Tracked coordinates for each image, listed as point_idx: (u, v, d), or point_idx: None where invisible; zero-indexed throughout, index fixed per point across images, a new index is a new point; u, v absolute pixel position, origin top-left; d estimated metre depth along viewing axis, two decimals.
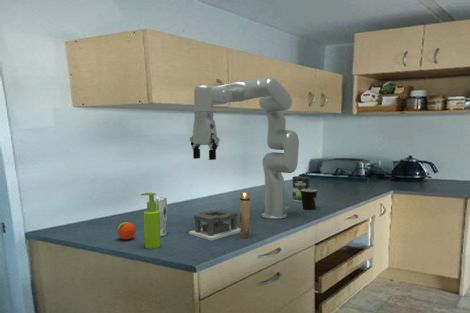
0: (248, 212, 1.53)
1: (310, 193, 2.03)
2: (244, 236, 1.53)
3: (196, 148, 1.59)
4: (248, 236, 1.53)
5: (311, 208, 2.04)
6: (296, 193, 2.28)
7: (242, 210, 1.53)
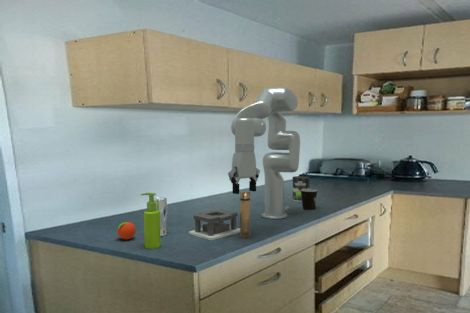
0: (248, 212, 1.53)
1: (310, 193, 2.03)
2: (244, 236, 1.53)
3: None
4: (248, 236, 1.53)
5: (311, 208, 2.04)
6: (296, 193, 2.28)
7: (242, 210, 1.53)
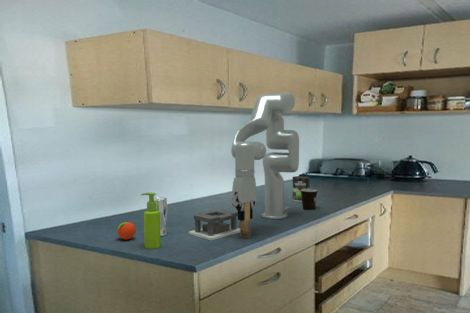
0: (248, 212, 1.53)
1: (310, 193, 2.03)
2: (244, 236, 1.53)
3: None
4: (248, 236, 1.53)
5: (311, 208, 2.04)
6: (296, 193, 2.28)
7: None
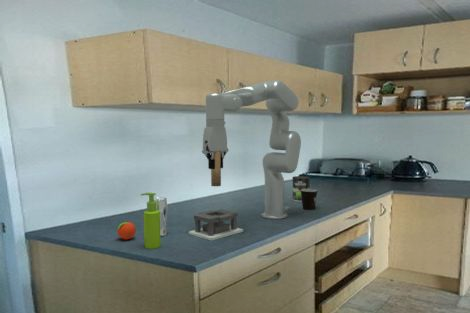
0: (218, 161, 1.57)
1: (310, 193, 2.03)
2: (214, 185, 1.58)
3: None
4: (218, 184, 1.58)
5: (311, 208, 2.04)
6: (296, 193, 2.28)
7: None
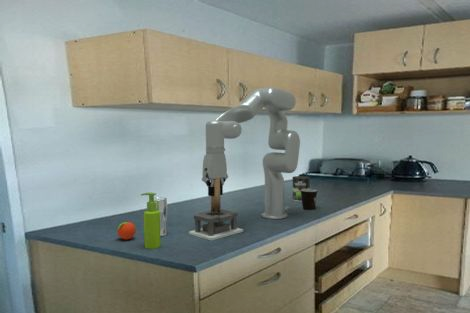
0: (218, 188, 1.58)
1: (310, 193, 2.03)
2: (214, 212, 1.59)
3: None
4: (218, 211, 1.59)
5: (311, 208, 2.04)
6: (296, 193, 2.28)
7: None
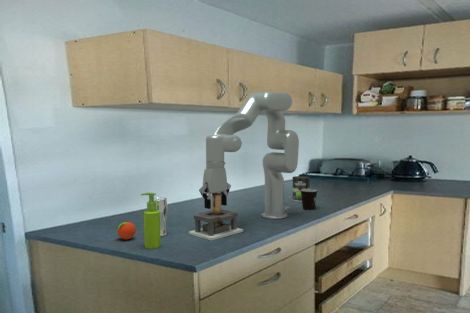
0: (219, 206, 1.59)
1: (310, 193, 2.03)
2: None
3: None
4: None
5: (311, 208, 2.04)
6: (296, 193, 2.28)
7: (213, 204, 1.59)
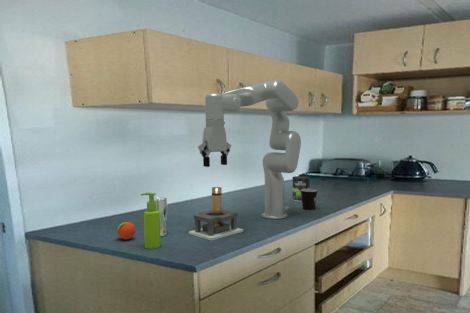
0: (219, 206, 1.59)
1: (310, 193, 2.03)
2: None
3: None
4: None
5: (311, 208, 2.04)
6: (296, 193, 2.28)
7: (213, 205, 1.59)
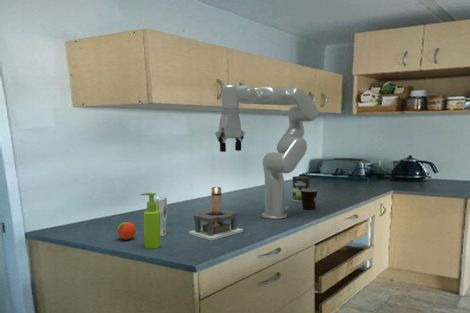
0: (219, 206, 1.59)
1: (310, 193, 2.03)
2: None
3: None
4: None
5: (311, 208, 2.04)
6: (296, 193, 2.28)
7: (213, 205, 1.59)
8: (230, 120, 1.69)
